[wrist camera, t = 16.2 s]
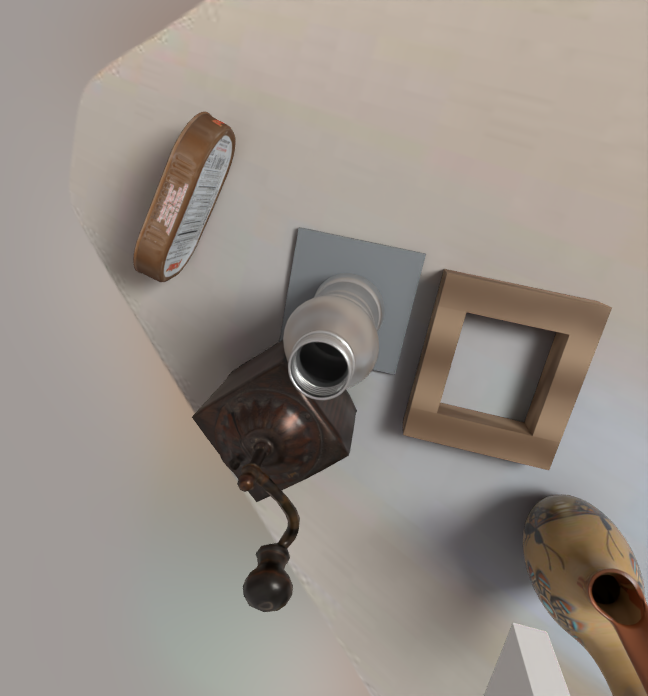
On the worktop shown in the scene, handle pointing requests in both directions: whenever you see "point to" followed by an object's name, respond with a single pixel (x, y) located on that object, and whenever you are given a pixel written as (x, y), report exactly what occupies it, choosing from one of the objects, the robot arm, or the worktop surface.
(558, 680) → the robot arm
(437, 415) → the brown rectangular frame
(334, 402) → the coffee grinder
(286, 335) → the plastic bottle
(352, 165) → the worktop surface
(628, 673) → the ceramic vessel
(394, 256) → the rubber mat
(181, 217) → the tin
